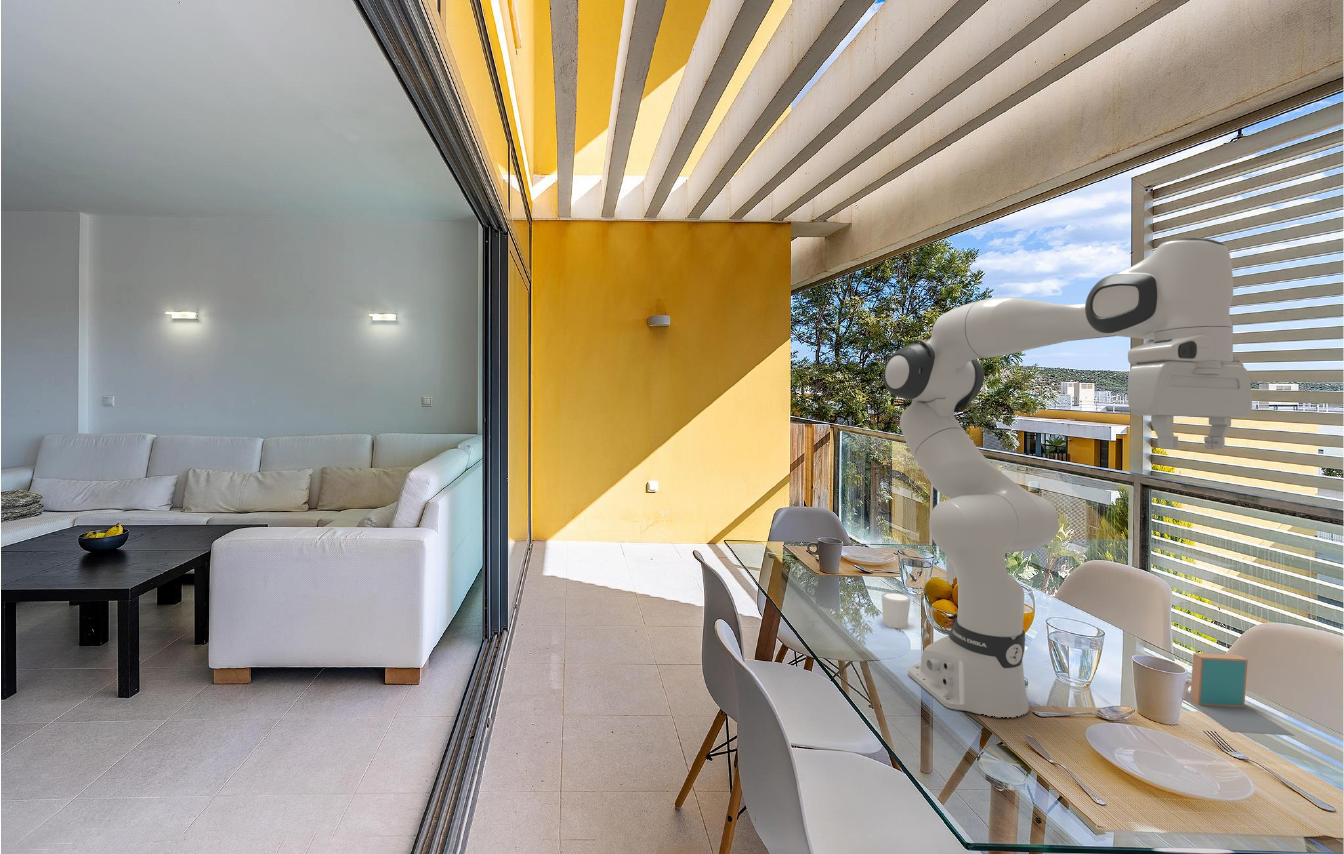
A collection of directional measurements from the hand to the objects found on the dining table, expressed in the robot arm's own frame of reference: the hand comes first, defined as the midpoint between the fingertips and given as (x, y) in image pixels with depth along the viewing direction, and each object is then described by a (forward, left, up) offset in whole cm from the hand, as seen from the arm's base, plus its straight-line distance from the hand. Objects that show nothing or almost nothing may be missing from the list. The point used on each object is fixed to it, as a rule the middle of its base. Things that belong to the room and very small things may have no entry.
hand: (1191, 448), depth 93 cm
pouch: (-70, +31, -51) cm, 92 cm away
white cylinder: (-68, +6, -50) cm, 85 cm away
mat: (-11, +34, -50) cm, 61 cm away
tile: (-14, +35, -49) cm, 62 cm away
